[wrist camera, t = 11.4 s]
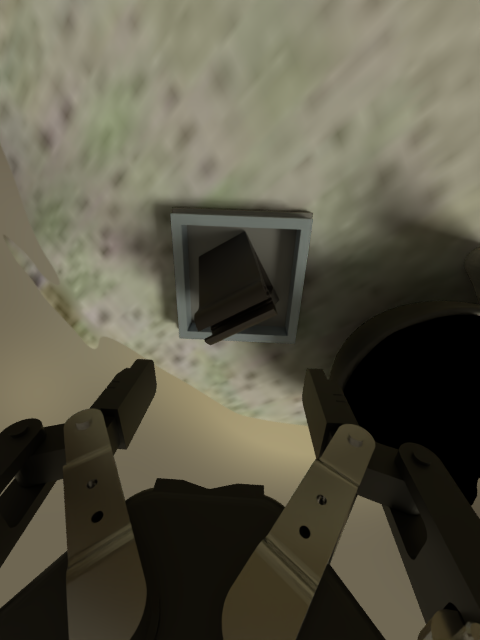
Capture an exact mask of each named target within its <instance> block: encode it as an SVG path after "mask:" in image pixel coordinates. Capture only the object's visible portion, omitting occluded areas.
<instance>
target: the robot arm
mask: <svg viewBox="0 0 480 640" xmlns="http://www.w3.org/2000/svg"><path fill="white" fill-rule="evenodd" d="M154 369H155V368H154V362H153V360H147V359H137V360H136V361H135V362H134V364H133V365H132V366H131V368H126V369H124V370H122V371H121V372H120V373H118V374H117V375H116V376H115V377H114V379H113V380H112V382H111V383H110V384H109V385H108V386H107V388H106V389H105V390H104V391H103V392H102V394H101V395H100V396H99V398H98V399H97V400H96V401H95V402H94V404H93V405H92V406H91V407H90V409H85V410H82V411H80V412H78V413H76V414H74V415H73V416H71V417H70V418H69V419H68V420H67V421H66V422H65V423H64V424H59V425H54V426H48V427H43V425H42V422H41V421H40V420H38V419H33V418H32V419H25V420H21V421H19V422H16V423H14V424H12V425H10V426H9V427H7V428H6V429H4V430H3V431H2V432H1V433H0V494H1V492H2V491H3V490H4V489H5V487H6V486H7V485H8V484H9V482H10V481H11V480H12V479H13V477H14V476H15V479H14V480H13V481H12V482H11V484H10V485H9V486H8V488H7V489H6V490H5V491H4V493H3V494H2V495H1V496H0V567H1V566H2V564H3V563H4V561H5V560H6V558H7V557H8V555H9V554H10V552H11V550H12V549H13V547H14V546H15V544H16V543H17V541H18V540H19V538H20V536H21V535H22V533H23V532H24V530H25V529H26V527H27V526H28V524H29V522H30V521H31V520H32V518H33V516H34V515H35V513H36V512H37V510H38V509H39V507H40V506H41V504H42V503H43V501H44V499H45V498H46V496H47V495H48V493H49V492H50V490H51V488H52V487H53V486H54V484H55V482H56V481H57V480H60V479H63V484H64V499H65V501H64V502H65V519H66V534H67V551H66V552H65V553H64V554H63V555H61V556H60V557H59V558H58V559H57V560H56V561H55V562H53V563H52V564H51V565H50V566H49V567H48V568H46V569H45V570H44V571H43V572H42V573H41V574H40V575H39V576H37V577H36V578H35V579H34V580H33V581H32V582H30V583H29V584H28V585H27V586H26V587H25V588H23V589H22V590H21V591H20V592H19V593H18V594H16V595H15V596H14V597H13V598H12V599H11V600H10V601H8V602H7V603H6V604H5V605H4V606H3V607H1V608H0V640H385V638H384V637H383V636H382V634H381V633H380V631H379V630H378V629H377V627H376V626H375V625H374V623H373V622H372V621H371V619H370V618H369V617H368V615H367V614H366V613H365V611H364V610H363V609H362V607H361V606H360V605H359V603H358V602H357V601H356V599H355V598H354V596H353V595H352V594H351V592H350V591H349V590H348V588H347V587H346V586H345V584H344V583H343V582H342V580H341V579H340V578H339V576H338V575H337V574H336V572H335V571H334V569H333V568H332V567H331V566H330V563H331V560H332V558H333V556H334V553H335V551H336V548H337V545H338V543H339V540H340V538H341V535H342V532H343V530H344V527H345V525H346V522H347V520H348V517H349V514H350V512H351V510H352V507H353V505H354V502H355V500H356V497H357V495H360V496H362V497H365V498H367V499H370V500H372V501H375V502H377V503H380V504H382V506H383V509H384V511H385V514H386V517H387V520H388V523H389V525H390V528H391V531H392V534H393V536H394V539H395V542H396V544H397V547H398V550H399V552H400V555H401V558H402V561H403V563H404V566H405V568H406V571H407V574H408V577H409V579H410V582H411V585H412V588H413V590H414V593H415V596H416V598H417V601H418V604H419V607H420V609H421V612H422V615H423V617H424V620H425V623H426V625H425V627H424V628H423V629H422V630H421V631H420V633H419V635H418V639H417V640H480V519H479V517H478V516H477V515H476V513H475V511H474V510H473V509H472V507H471V505H470V504H469V502H468V501H467V499H466V498H465V496H464V495H463V493H462V492H461V490H460V489H459V487H458V486H457V484H456V483H455V481H454V480H453V478H452V477H451V475H450V474H449V472H448V471H447V469H446V468H445V466H444V465H443V463H442V462H441V460H440V459H439V458H438V457H437V456H436V455H435V454H434V453H433V452H432V451H430V450H429V449H427V448H426V447H424V446H422V445H419V444H416V443H410V442H408V443H403V444H402V445H401V446H400V448H399V450H398V449H395V448H392V447H389V446H386V445H383V444H380V443H377V442H375V441H374V439H373V437H372V436H371V434H370V433H369V432H367V431H366V430H365V429H363V428H362V427H359V425H358V423H357V421H356V418H355V416H354V414H353V412H352V410H351V408H350V406H349V404H348V403H347V400H346V397H345V396H344V393H343V391H342V389H341V387H340V386H339V385H338V384H337V383H336V382H335V381H334V380H328V379H327V378H326V376H325V373H324V371H323V370H322V369H307V370H306V375H305V381H304V387H303V394H302V401H303V407H304V411H305V415H306V419H307V423H308V427H309V431H310V435H311V439H312V443H313V447H314V451H315V455H316V459H315V461H314V462H313V464H312V465H311V467H310V469H309V470H308V472H307V473H306V475H305V476H304V478H303V479H302V481H301V483H300V484H299V486H298V488H297V489H296V491H295V492H294V494H293V495H292V497H291V499H290V500H289V502H288V503H287V505H286V507H284V506H283V505H282V504H281V503H279V502H278V501H276V500H274V499H273V498H271V497H268V496H266V495H264V486H263V485H249V484H233V485H228V486H223V487H218V488H213V489H206V488H204V487H201V486H198V485H196V484H193V483H190V482H187V481H184V480H176V479H161V478H157V480H156V483H155V485H154V488H150V489H147V490H144V491H141V492H139V493H137V494H135V495H134V496H132V497H130V498H129V499H127V500H126V501H125V498H124V494H123V490H122V486H121V483H120V478H119V475H118V471H117V467H116V463H115V459H114V454H115V452H116V450H117V449H127V448H128V446H129V444H130V442H131V440H132V438H133V436H134V434H135V432H136V430H137V428H138V427H139V425H140V423H141V421H142V419H143V417H144V415H145V413H146V411H147V409H148V407H149V405H150V403H151V401H152V399H153V398H154V395H155V393H156V385H157V383H156V376H155V370H154Z"/></svg>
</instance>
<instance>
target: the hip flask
mask: <svg viewBox="0 0 480 640" xmlns="http://www.w3.org/2000/svg"><path fill="white" fill-rule="evenodd" d="M464 267H465V270H466V272H467V273H468V275H469V277H470V279H471V282H472V284H473V287H474V289H475V292H476V295H477V299H478V302H479V305H480V247H478V248H476V249H474V250H473V251H472V252H470V253H469V255H468V256H467V257H466V259H465V263H464Z"/></svg>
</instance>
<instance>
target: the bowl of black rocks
mask: <svg viewBox="0 0 480 640" xmlns="http://www.w3.org/2000/svg"><path fill="white" fill-rule="evenodd" d="M329 380H334V381H335V382H336V383H337V384H338V385H339V386H340V387H341V389H342V391H343V393H344V396H345V397H346V400H347V403H348V404H349V406H350V408H351V410H352V412H353V414H354V416H355V418H356V421H357V423H358V425H359V427H362V428H363V429H365V430H366V431H367V432H369V433H370V434H371V436H372V437H373V439H374V441H375V442H377V443H380V444H383V445H386V446H389V447H392V448H395V449H398V450H399V448H400V446H401V445H402V444H403V443H408V442H410V443H416V444H419V445H422V446H424V447H426V448H427V449H429V450H430V451H432V452H433V453H434V454H435V455H436V456H437V457H438V458H439V459H440V460H441V462H442V463H443V465H444V466H445V468H446V469H447V471H448V472H449V474H450V475H451V477H452V478H453V480H454V481H455V483H456V484H457V486H458V487H459V489H460V490H461V492H462V493H463V495H464V496H465V498H466V499H467V501H468V502H469V504H470V505H472V504H473V503H474V500H475V498H476V497H477V482H478V479H479V478H480V305H478V304H474V303H466V302H458V301H426V302H418V303H412V304H407V305H403V306H400V307H397V308H393V309H390V310H388V311H385V312H383V313H381V314H379V315H377V316H375V317H373V318H372V319H370V320H368V321H367V322H366V323H364V324H363V325H361V326H360V327H359V328H358V329H357V330H356V331H355V332H354V333H352V334H351V336H350V337H349V338H348V339H347V340H346V342H345V343H344V344H343V346H342V347H341V349H340V351H339V352H338V354H337V356H336V358H335V361H334V364H333V367H332V370H331V374H330V379H329Z"/></svg>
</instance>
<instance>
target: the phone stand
mask: <svg viewBox="0 0 480 640" xmlns="http://www.w3.org/2000/svg"><path fill="white" fill-rule="evenodd" d="M278 301H279V298H278V296H277V294H276V292H275V290H274V288H273V286H272V284H271V282H270V280H269V278H268V276H267V274H266V272H265V270H264V268H263V266H262V264H261V262H260V260H259V258H258V256H257V254H256V252H255V249H254V247H253V245H252V243H251V241H250V239H249V237H248V235H247V233H246V232H245V231H244V232H242V233H240V234H239V235H237V236H235V237H233V238H231V239H230V240H228V241H226V242H224V243H222V244H221V245H219V246H217V247H215V248H213V249H212V250H210V251H208V252H206V253H205V254H203V255H201V256H199V309H198V311H197V312H196V313H195V315H194V320H195V324H196V327H197V330H198V332H199V331H201V330H203V329H205V328H207V327H210V326H211V331H212V335H211V336H209V337H207V338H205V342H206V343H207V344H209V345H212V344H215V343H217V342H219V341H221V340H223V339H225V338H228V337H230V336H232V335H234V334H236V333H238V332H241V331H243V330H245V329H247V328H249V327H252V326H254V325H256V324H258V323H260V322H262V321H265V320H267V319H269V318H271V317H273V316H275V315H278V313H277V310H276V306H275V304H276V303H277V302H278Z"/></svg>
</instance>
